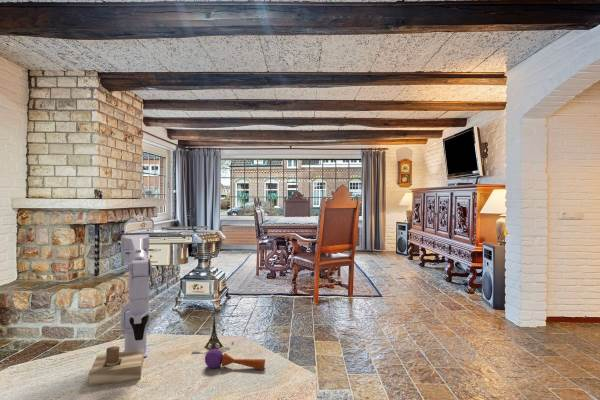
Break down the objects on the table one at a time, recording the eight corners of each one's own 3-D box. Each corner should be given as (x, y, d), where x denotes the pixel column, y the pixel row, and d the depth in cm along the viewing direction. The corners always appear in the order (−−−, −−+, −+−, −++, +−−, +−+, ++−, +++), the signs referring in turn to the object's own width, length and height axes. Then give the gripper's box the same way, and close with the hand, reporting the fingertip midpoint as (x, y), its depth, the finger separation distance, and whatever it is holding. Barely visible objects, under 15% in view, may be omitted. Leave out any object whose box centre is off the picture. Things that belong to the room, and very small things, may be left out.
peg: (107, 371, 112) (108, 346, 112) (120, 370, 113) (120, 345, 113) (104, 377, 109) (104, 351, 109) (117, 376, 110) (117, 350, 110)
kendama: (262, 362, 113) (202, 354, 115) (261, 378, 114) (202, 371, 116) (266, 351, 119) (208, 344, 120) (265, 366, 120) (208, 359, 122)
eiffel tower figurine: (190, 355, 127) (190, 318, 127) (195, 344, 137) (195, 310, 137) (232, 353, 129) (232, 317, 129) (234, 342, 139) (234, 309, 139)
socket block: (97, 366, 117) (97, 354, 117) (143, 360, 121) (143, 349, 121) (89, 386, 104) (89, 372, 104) (140, 378, 109) (140, 365, 109)
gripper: (128, 293, 119) (127, 333, 119) (123, 304, 106) (122, 349, 105) (150, 291, 122) (150, 331, 122) (148, 301, 108) (148, 346, 108)
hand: (139, 339), depth 114 cm, fingers closed
